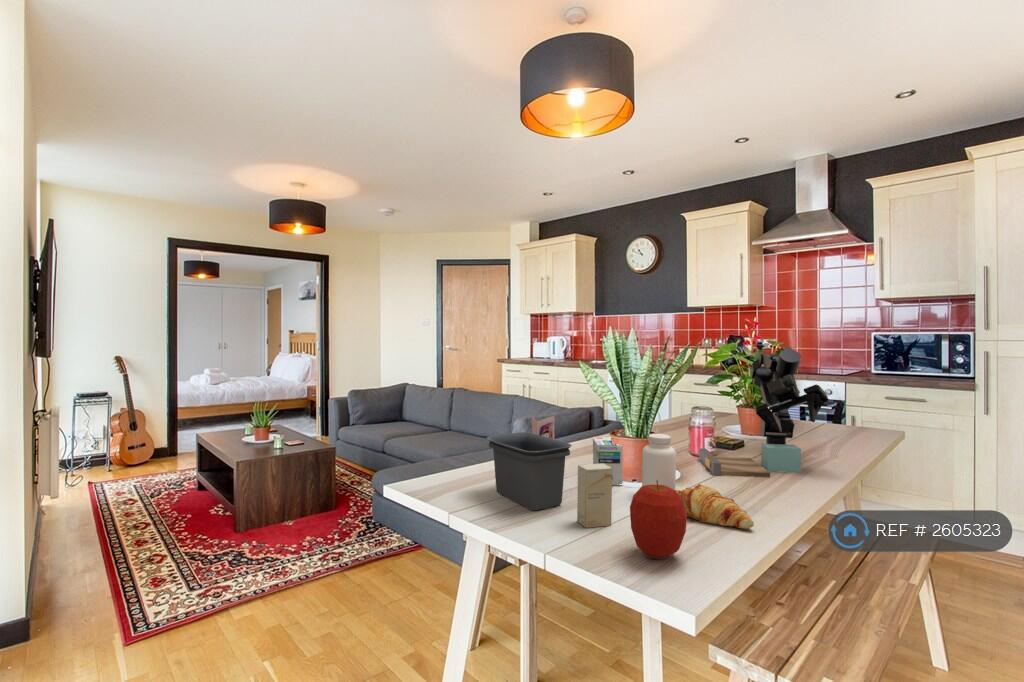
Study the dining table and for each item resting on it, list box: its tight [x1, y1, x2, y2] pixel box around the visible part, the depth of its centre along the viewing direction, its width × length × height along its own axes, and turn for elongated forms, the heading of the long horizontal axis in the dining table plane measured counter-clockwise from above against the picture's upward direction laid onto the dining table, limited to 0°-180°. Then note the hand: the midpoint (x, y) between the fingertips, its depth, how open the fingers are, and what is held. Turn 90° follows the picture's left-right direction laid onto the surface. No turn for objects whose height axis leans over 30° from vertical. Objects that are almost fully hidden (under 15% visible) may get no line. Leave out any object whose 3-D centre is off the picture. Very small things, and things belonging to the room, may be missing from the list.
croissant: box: [675, 483, 755, 530], centre depth 111 cm, size 21×10×8 cm, turn 37°
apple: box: [629, 481, 688, 560], centre depth 91 cm, size 10×10×14 cm
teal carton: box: [761, 443, 802, 473], centre depth 149 cm, size 5×9×7 cm, turn 82°
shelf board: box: [714, 456, 771, 478], centre depth 150 cm, size 17×13×1 cm
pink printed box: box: [531, 414, 555, 439], centre depth 150 cm, size 11×7×15 cm, turn 150°
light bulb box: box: [592, 436, 624, 486], centre depth 138 cm, size 11×7×11 cm, turn 179°
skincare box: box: [576, 463, 613, 529], centre depth 107 cm, size 6×4×12 cm
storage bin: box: [486, 431, 573, 511], centre depth 123 cm, size 21×16×14 cm
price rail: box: [698, 447, 722, 477], centre depth 151 cm, size 18×2×4 cm, turn 172°
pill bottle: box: [641, 433, 677, 490], centre depth 124 cm, size 8×8×15 cm
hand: (796, 426), depth 143 cm, fingers open, 9 cm apart
